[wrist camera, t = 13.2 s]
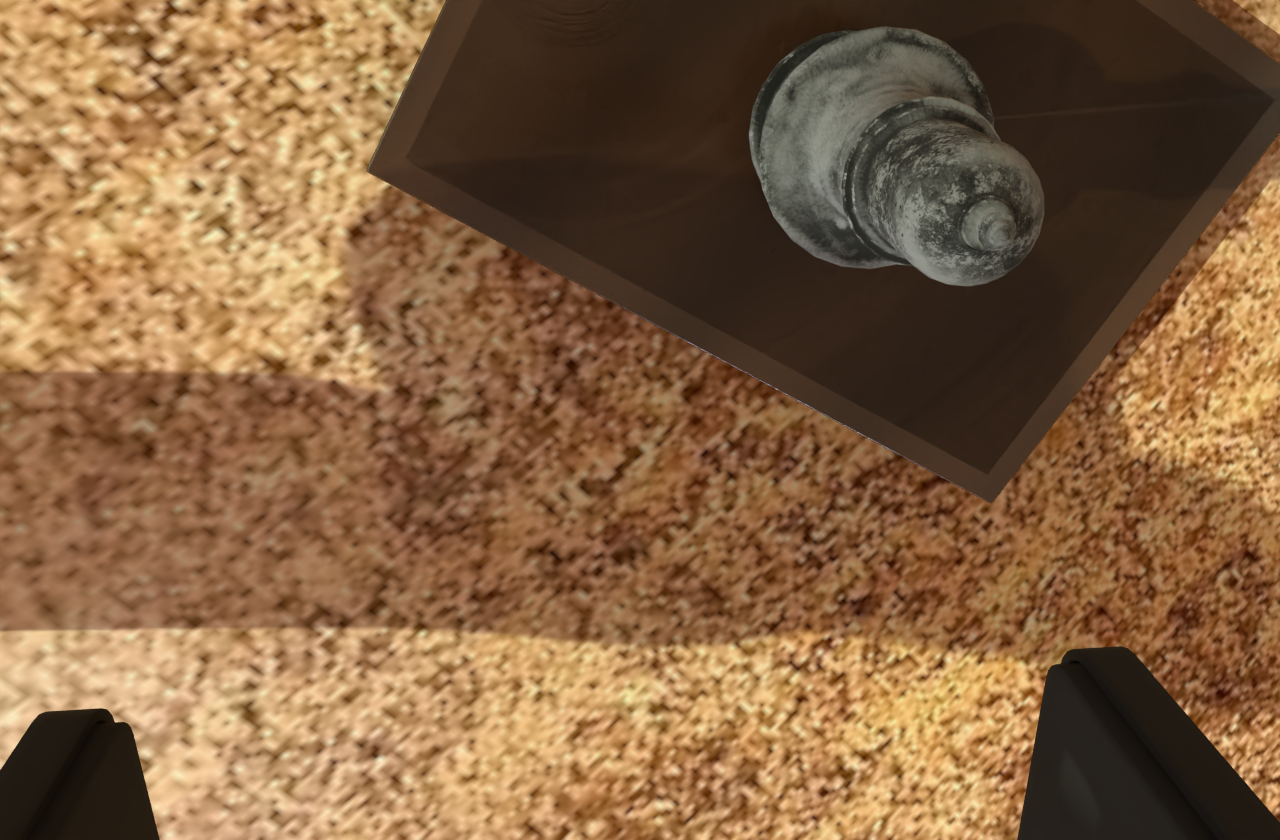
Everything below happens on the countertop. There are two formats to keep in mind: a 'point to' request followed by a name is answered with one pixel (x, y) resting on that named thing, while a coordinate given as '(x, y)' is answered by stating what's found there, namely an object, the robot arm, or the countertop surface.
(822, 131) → the stone chess piece
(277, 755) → the countertop surface
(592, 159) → the board
